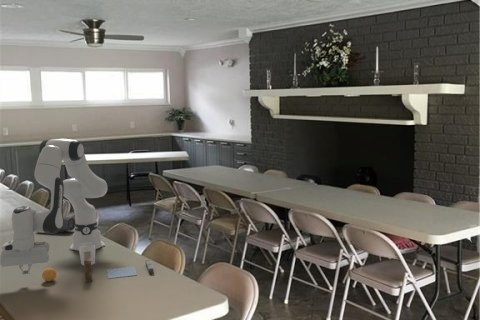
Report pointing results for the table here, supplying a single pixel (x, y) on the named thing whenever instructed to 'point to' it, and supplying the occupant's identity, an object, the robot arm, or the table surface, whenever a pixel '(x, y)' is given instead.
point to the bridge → (87, 266)
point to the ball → (49, 274)
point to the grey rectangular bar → (149, 267)
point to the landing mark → (121, 272)
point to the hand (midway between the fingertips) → (26, 273)
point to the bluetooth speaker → (67, 224)
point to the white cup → (86, 248)
